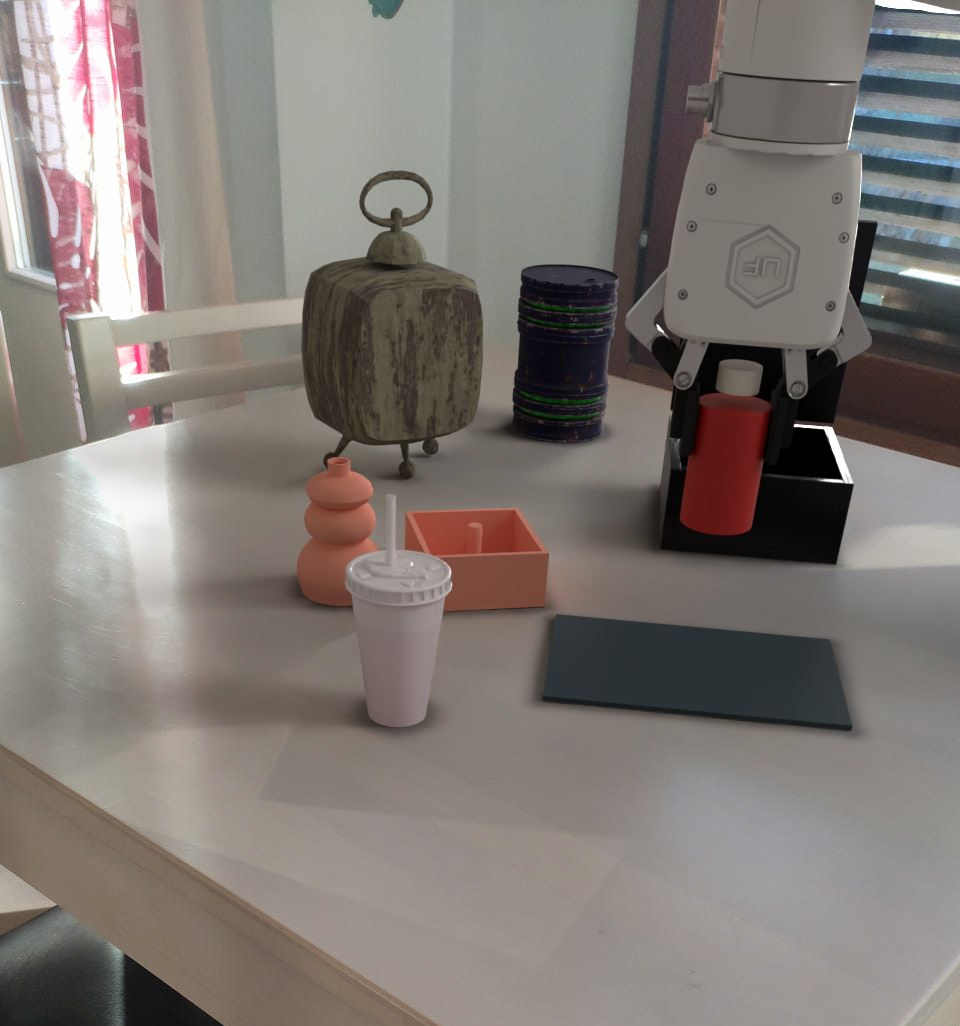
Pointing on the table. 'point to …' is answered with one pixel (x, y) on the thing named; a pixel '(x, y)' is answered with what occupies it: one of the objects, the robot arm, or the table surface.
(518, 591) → the pottery
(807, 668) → the mat
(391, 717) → the smoothie
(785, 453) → the box
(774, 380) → the lid
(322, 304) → the tabletop clock
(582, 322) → the dark purple barrel
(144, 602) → the table surface
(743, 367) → the ketchup
